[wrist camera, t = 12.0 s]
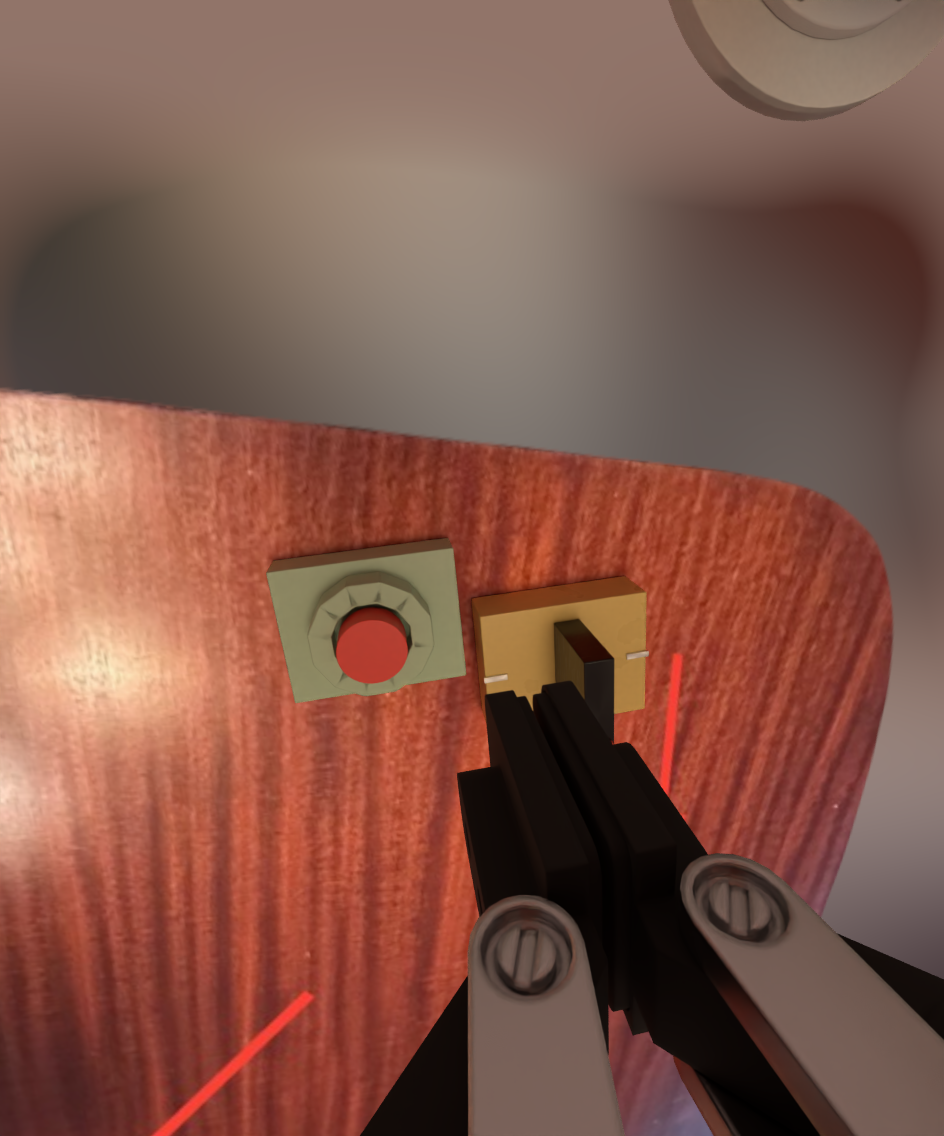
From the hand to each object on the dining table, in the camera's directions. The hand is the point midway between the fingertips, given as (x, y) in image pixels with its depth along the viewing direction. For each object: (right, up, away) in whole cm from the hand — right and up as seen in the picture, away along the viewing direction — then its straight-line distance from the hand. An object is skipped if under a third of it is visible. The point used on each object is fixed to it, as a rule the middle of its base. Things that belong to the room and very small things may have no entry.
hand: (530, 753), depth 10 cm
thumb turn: (+5, -2, +22) cm, 23 cm away
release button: (-6, 0, +19) cm, 20 cm away
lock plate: (+4, -1, +25) cm, 25 cm away
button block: (-7, +1, +22) cm, 23 cm away
